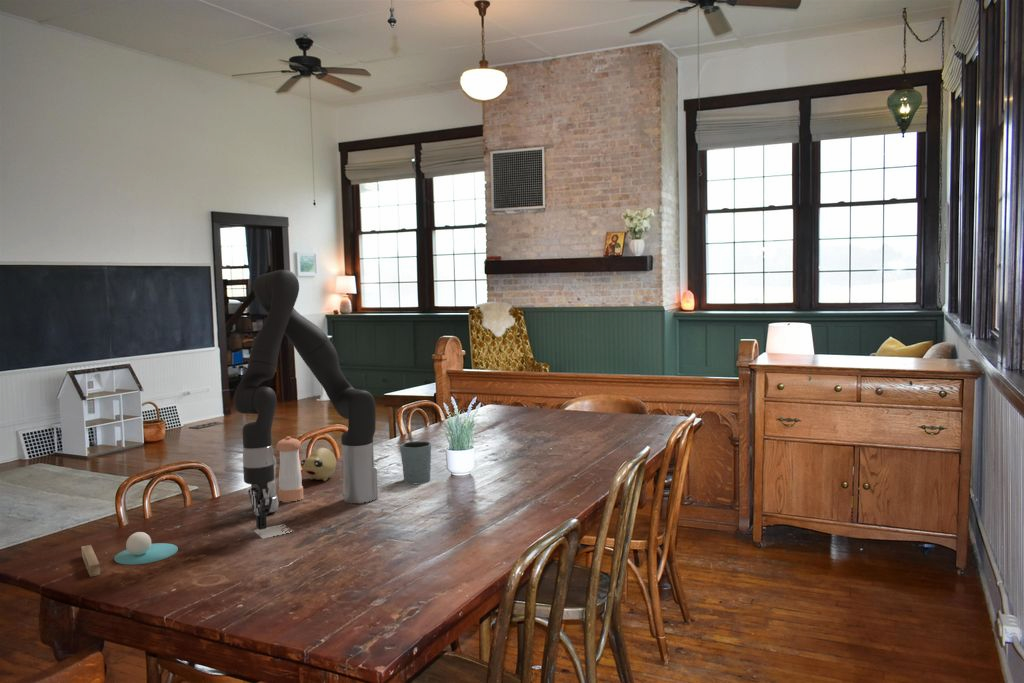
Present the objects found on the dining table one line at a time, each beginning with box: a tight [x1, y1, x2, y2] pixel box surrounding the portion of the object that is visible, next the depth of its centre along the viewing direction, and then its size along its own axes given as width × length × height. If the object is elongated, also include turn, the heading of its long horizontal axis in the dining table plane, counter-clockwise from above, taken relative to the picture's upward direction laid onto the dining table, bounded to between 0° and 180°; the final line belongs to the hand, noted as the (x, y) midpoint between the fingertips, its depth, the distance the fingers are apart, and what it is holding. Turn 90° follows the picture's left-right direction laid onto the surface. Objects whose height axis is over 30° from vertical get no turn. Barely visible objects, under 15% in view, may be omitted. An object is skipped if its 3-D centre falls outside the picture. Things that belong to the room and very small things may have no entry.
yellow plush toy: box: [300, 447, 337, 482], centre depth 252 cm, size 10×12×11 cm
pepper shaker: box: [275, 435, 304, 503], centre depth 230 cm, size 7×7×19 cm
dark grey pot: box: [399, 440, 432, 484], centre depth 249 cm, size 10×10×12 cm
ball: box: [125, 531, 152, 555], centre depth 186 cm, size 6×6×6 cm
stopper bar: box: [81, 544, 101, 578], centre depth 179 cm, size 2×16×2 cm, turn 35°
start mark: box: [253, 523, 293, 540], centre depth 201 cm, size 8×8×1 cm
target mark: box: [113, 542, 179, 566], centre depth 186 cm, size 14×14×1 cm
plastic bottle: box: [267, 454, 280, 514], centre depth 217 cm, size 6×7×20 cm
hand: (261, 528), depth 199 cm, fingers closed
